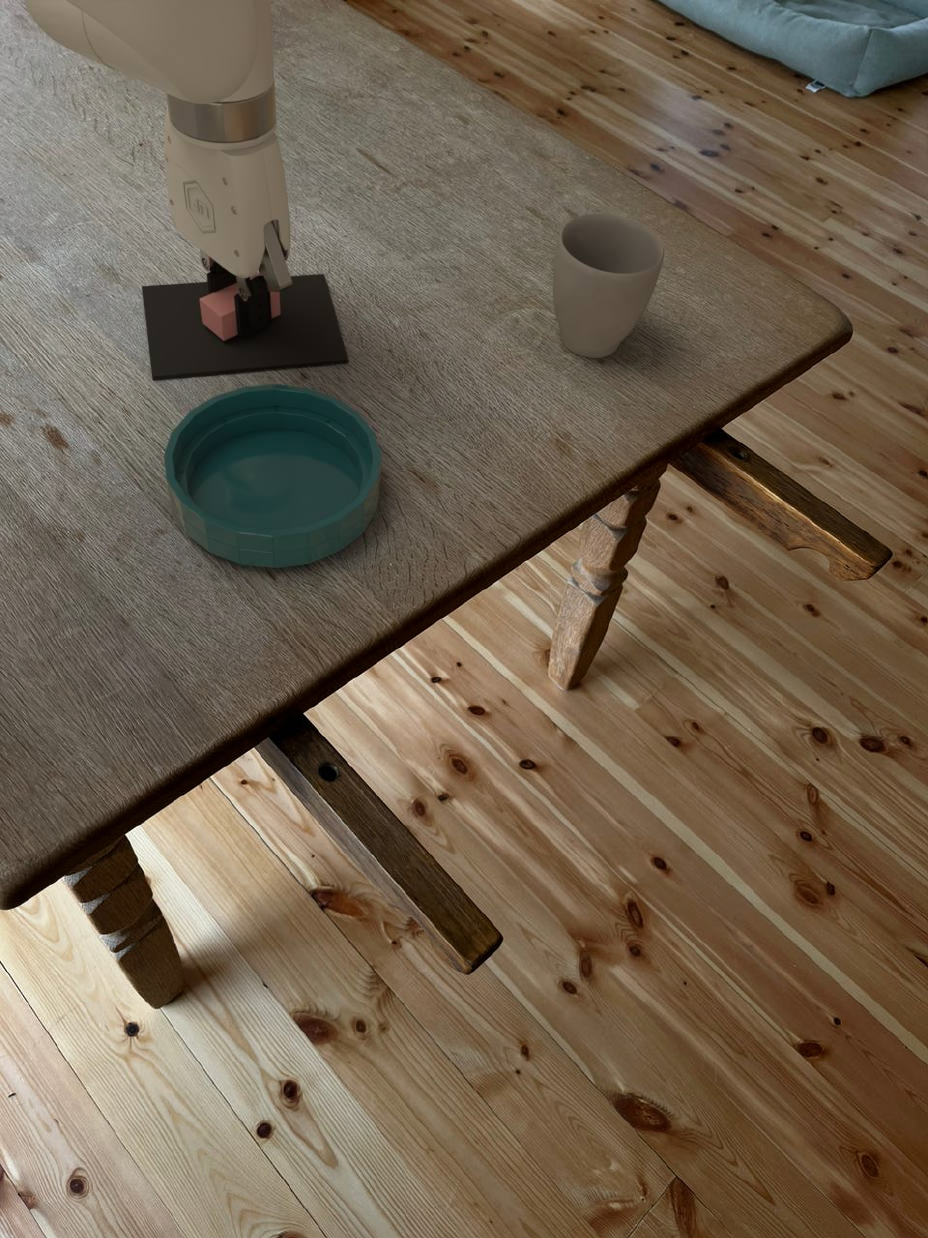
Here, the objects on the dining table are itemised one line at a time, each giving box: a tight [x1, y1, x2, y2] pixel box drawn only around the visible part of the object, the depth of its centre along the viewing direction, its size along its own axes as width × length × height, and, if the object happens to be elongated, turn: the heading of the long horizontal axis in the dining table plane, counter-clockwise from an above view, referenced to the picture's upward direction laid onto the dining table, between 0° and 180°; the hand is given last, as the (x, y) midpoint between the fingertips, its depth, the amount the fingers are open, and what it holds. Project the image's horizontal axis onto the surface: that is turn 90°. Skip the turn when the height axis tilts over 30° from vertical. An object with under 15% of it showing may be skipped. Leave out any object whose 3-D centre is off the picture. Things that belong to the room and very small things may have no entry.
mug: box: [552, 212, 665, 359], centre depth 87 cm, size 12×9×10 cm
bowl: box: [163, 383, 382, 569], centre depth 74 cm, size 15×15×4 cm
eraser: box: [200, 273, 281, 341], centre depth 85 cm, size 6×3×2 cm, turn 135°
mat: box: [141, 273, 349, 381], centre depth 86 cm, size 16×12×1 cm
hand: (241, 317), depth 86 cm, fingers closed on eraser, 2 cm apart
